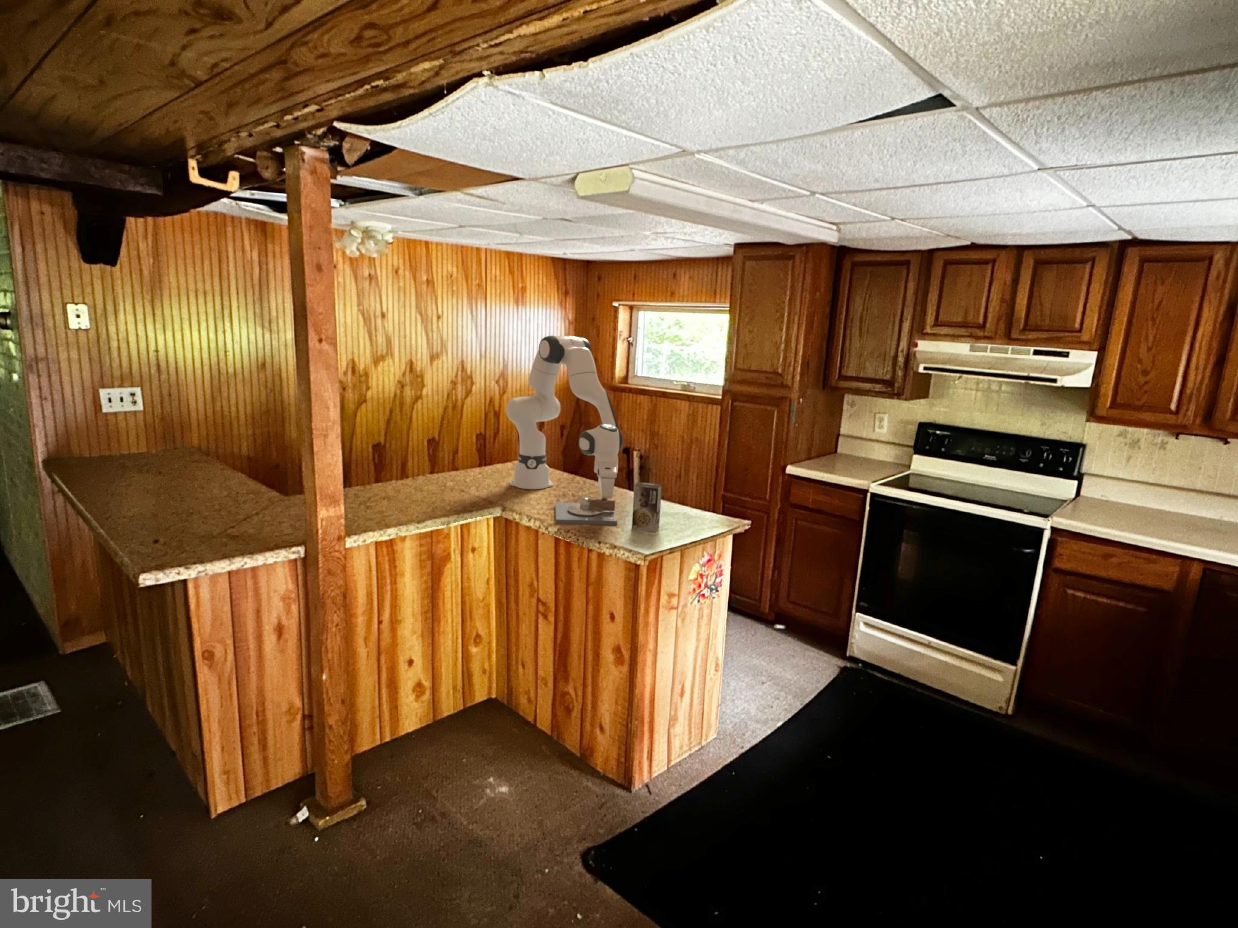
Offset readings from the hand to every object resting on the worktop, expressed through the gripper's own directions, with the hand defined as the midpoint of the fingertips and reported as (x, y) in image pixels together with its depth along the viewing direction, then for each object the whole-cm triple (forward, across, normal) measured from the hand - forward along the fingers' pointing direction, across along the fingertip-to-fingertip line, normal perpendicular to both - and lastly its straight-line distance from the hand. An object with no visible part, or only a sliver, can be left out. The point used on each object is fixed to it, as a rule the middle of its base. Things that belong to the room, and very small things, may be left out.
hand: (604, 503), depth 248 cm
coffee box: (+4, +16, +14) cm, 22 cm away
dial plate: (+4, +2, -7) cm, 9 cm away
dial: (+3, +2, -5) cm, 6 cm away
